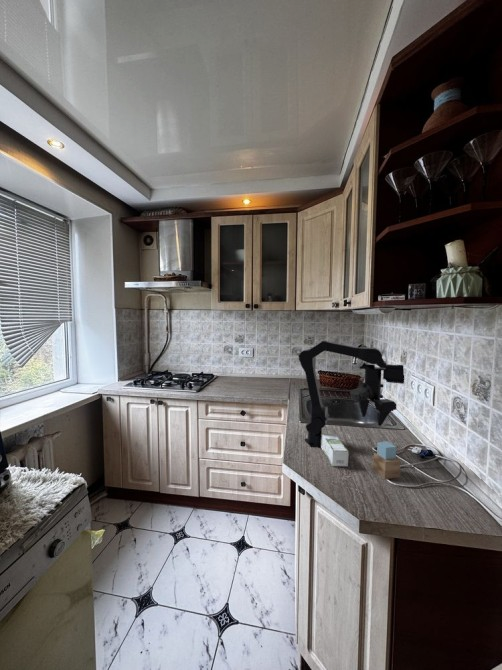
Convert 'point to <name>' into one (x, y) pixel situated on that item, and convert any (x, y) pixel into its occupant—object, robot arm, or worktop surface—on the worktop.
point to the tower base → (386, 472)
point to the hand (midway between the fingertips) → (371, 421)
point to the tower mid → (386, 463)
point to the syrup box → (334, 450)
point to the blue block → (386, 450)
